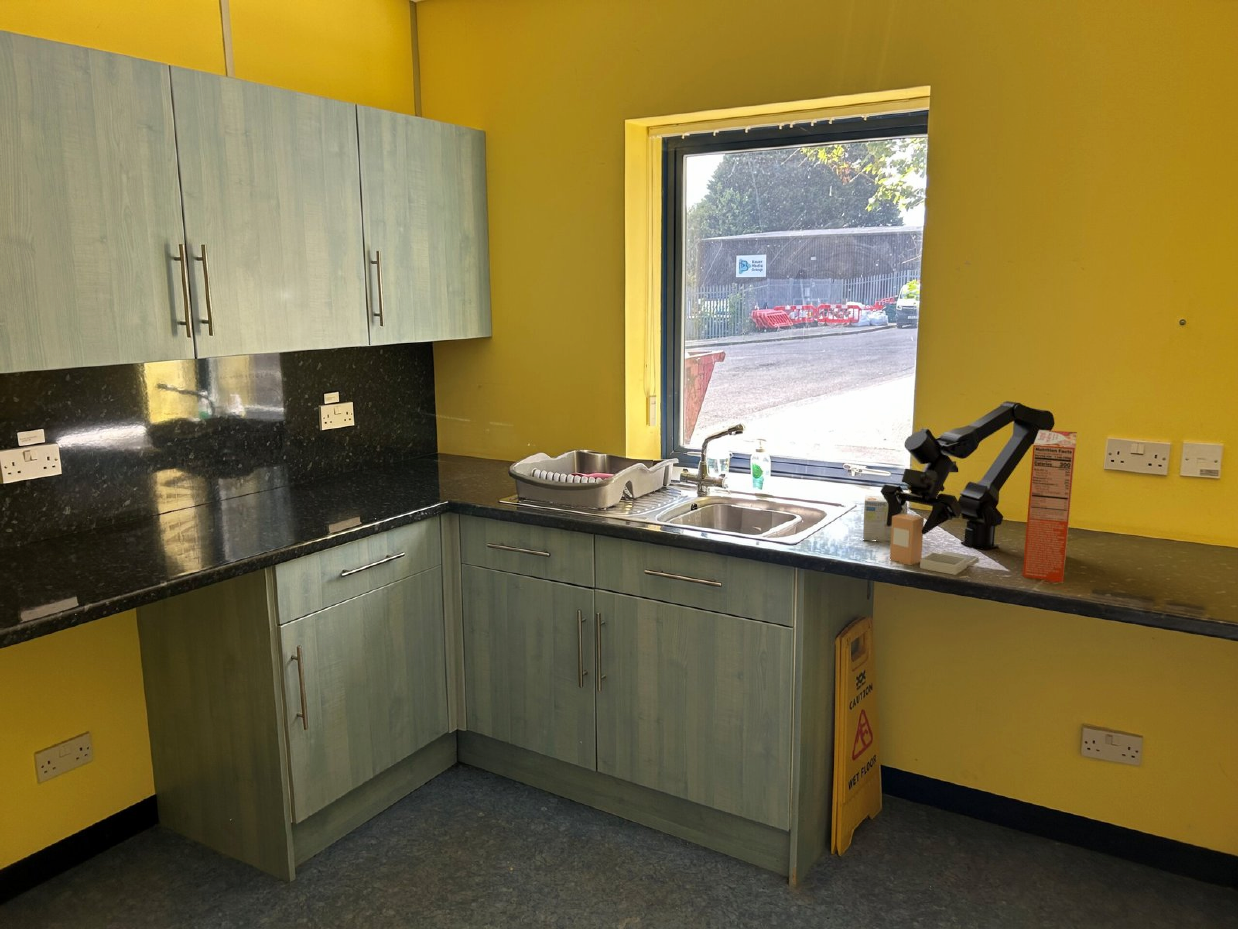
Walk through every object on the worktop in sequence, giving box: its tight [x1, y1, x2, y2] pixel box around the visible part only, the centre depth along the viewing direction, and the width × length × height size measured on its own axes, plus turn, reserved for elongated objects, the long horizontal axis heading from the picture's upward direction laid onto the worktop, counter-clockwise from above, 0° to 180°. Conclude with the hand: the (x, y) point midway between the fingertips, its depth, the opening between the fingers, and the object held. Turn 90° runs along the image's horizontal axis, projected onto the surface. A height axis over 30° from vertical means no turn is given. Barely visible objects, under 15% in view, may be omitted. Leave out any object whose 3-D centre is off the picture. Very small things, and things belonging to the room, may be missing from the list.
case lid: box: [939, 550, 980, 567], centre depth 218 cm, size 8×8×1 cm
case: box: [919, 551, 968, 576], centre depth 212 cm, size 7×8×2 cm
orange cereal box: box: [1022, 430, 1078, 583], centre depth 211 cm, size 23×8×30 cm, turn 153°
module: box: [889, 513, 925, 566], centre depth 216 cm, size 5×6×11 cm
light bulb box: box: [862, 494, 908, 542], centre depth 236 cm, size 11×7×11 cm, turn 74°
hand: (905, 529), depth 215 cm, fingers open, 9 cm apart
